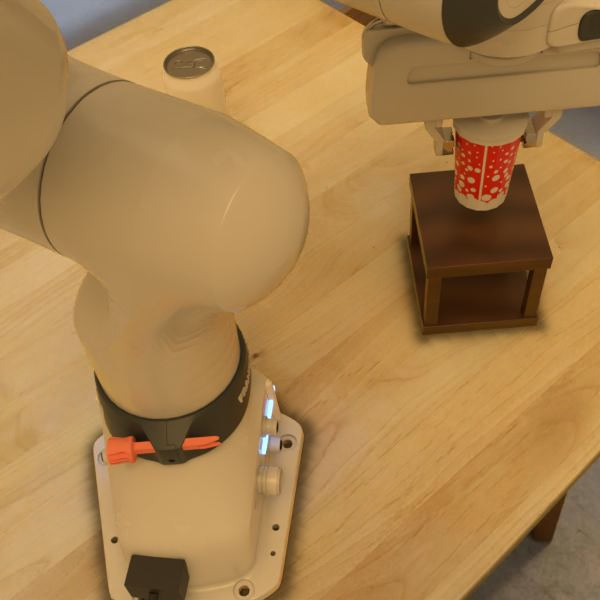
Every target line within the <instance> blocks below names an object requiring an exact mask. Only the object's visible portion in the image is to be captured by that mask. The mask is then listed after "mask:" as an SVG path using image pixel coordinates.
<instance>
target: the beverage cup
mask: <svg viewBox="0 0 600 600" xmlns="http://www.w3.org/2000/svg"><path fill="white" fill-rule="evenodd" d="M529 120H530V112H525V113H514V114H503V115H492V116H481V117H470V118H459V119H452V128H454V140H455V144H454V170H455V177H454V191H455V197H456V198H457V200H458V201H459V203H461V204H462V205H464V206H465V207H467V208H470V209H473V210H477V211H480V210H490V209H493V208H497V207H498V206H499V205H500V204H502V203H503V202H504V200H505V197H506V195H507V191H508V187H509V183H510V180H511V176H512V172H513V168H514V165H515V164H516V159H517V156H518V152H519V149H520V144H521V137H522V135H523V134H524V132H525V130H526V128H527V125H528V124H527V123H528V121H529Z"/></svg>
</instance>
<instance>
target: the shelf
mask: <svg viewBox="0 0 600 600" xmlns="http://www.w3.org/2000/svg"><path fill="white" fill-rule="evenodd" d="M454 177H455V169H450V170H449V169H448V170H447V169H446V170H437V171H426V172H414V173H409V178H408V179H409V181H408V185H409V191H410V207H409V209H410V210H409V228H408V229H409V230H408V235H406V246H407V252H408V253H407V254H408V259H409V264H410V269H411V277H412V282H413V287H414V293H415V299H416V305H417V310H418V315H419V322H420V327H421V331H422V332H421V333H422V336H425V335H437V334H449V333H462V332H473V331H474V332H475V331H486V330H496V329H499V330H500V329H509V328H510V329H511V328H522V327H533V326H534V327H535V326H537V325H538V321H539V316H538V309H539V305H540V301H541V297H542V293H543V288H544V286H545V281H546V277H547V273H548V270H550V269H551V268H552V265H553V261H554V255H553V252H552V249H551V246H550V242H549V239H548V237H547V232H546V230H545V226H544V223H543V219H542V217H541V213H540V210H539V207H538V204H537V201H536V198H535V195H534V191H533V188H532V185H531V181H530V178H529V175H528V171H527V168H526V165H525V163H517V164H516V163H515V164H514V168H513V172H512V176H511V180H510V183H509V187H508V191H507V195H506V197H505V200H504V202H503V203H502V204H500V205H499V206H498V207H497V208H493V209H490V210H480V211H477V210H473V209H470V208H467V207H465V206H464V205H462V204H461V203H459V201H458V200H457V198H456V197H455V191H454ZM526 271H527V272H528V275H527V273H526Z"/></svg>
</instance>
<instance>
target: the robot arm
mask: <svg viewBox="0 0 600 600" xmlns="http://www.w3.org/2000/svg"><path fill="white" fill-rule="evenodd" d="M334 1H335V2H337V3H340V4H343V5H345V6H348V7H350V8H352V9H355V10H358V11H360V12H362V13H365V14H367V15H370V16H373V17H375V19H373V20H371V21H369V22H368V23H367V25H365V26H364V28H363V30H362V34H361V55H362V58H363V60H364V61H365V62H366V63H367V67H366V75H365V99H366V100H365V102H366V107H367V108H366V109H367V112H368V113H367V114H368V116H369V117H370V119H372V120H373V121H374V122H375V123H376V124H377V125H379V126H389V125H400V124H401V125H402V124H413V123H423V127H424V129H425V131H426V132H427V133H428V135H429V136H430V137H431V138H432V143H433V145H432V146H433V150H434V155H435V157H442V156H452V155H455V135H453V126H443V123H444V122H443V121H446V120H453V119H459V118H470V117H481V116H492V115H503V114H514V113H525V112H529V113H534V112H535V114H534V115H533V116H532V117H531V118H529V121H528V123H527V124H528V125H527V128H526V130H525V132H524V134H523V135H522V137H521V141H520V143H521V148H522V149H530V148H532V149H533V148H541V147H542V144H543V140H544V136H545V133H547V132H548V131H549V130H550V129H551V128H552V127H553V126H554V125H556V123H557V122H558V121H559V120H560V119H562V116H563V111H564V110H569V109H581V108H590V107H591V108H592V107H600V0H334ZM310 202H311V201H310V193H309V188H308V185H307V181H306V177H305V175H304V172H303V170H302V167H301V164H300V163H299V160H298V159H297V158H296V157H295V156H294V155H293V153H291V152H289V151H287V150H286V149H284V148H283V147H281V146H280V145H278V144H277V143H275V142H274V141H272V140H270V139H269V138H267V137H266V136H264V135H263V134H261V133H259V132H258V131H256V130H254V129H252V128H251V127H249V126H247V125H246V124H244V123H243V122H240V121H239V120H238V119H235V118H234V117H232V116H230V115H229V114H228V115H227V114H224V113H221V112H218V111H215V110H212V109H209V108H206V107H204V106H201V105H198V104H195V103H192V102H189V101H186V100H183V99H180V98H177V97H174V96H171V95H168V94H166V93H165V92H163V91H160V90H156V89H154V88H151V87H147V86H144V85H141V84H139V83H136V82H133V81H131V80H129V79H125V78H122V77H120V76H117V75H114V74H112V73H110V72H108V71H105V70H102V69H99V68H98V67H95V66H92V65H90V64H88V63H86V62H83V61H81V60H80V59H76V58H74V57H73V56H71V55H69V54H68V49H67V45H66V42H65V38H64V36H63V33H62V31H61V28H60V27H59V25H58V23H57V21H56V19H55V17H54V15H52V13H51V11H50V10H49V9H48V7H46V5H45V4H44V3H43V2H42V1H41V0H0V229H1V230H3V231H4V232H7V233H10V234H12V235H15V236H16V237H19V238H21V239H24V240H25V241H28V242H30V243H33V244H35V245H37V246H40V247H42V248H44V249H46V250H48V251H51V252H53V253H56V254H57V255H60V256H62V257H64V258H66V259H68V260H70V261H73V262H74V263H76V264H78V265H79V266H80V267H82V268H83V269H85V271H87V272H86V273H85V275H84V276H83V278H82V280H81V282H80V285H79V287H78V290H77V293H76V295H75V299H74V302H73V303H74V304H73V310H72V321H73V326H74V330H75V334H76V335H77V337H78V339H79V341H80V343H81V345H82V348H83V350H84V352H85V354H86V357H87V358H88V361H89V362H90V365H91V367H92V369H93V377H94V382H95V383H94V384H95V392H96V395H95V396H94V399H95V401H96V403H97V405H98V407H99V412H100V419H101V427H102V435H100V437H98V438H97V439H96V440H95V442H94V443H93V447H92V449H93V450H92V452H93V453H92V454H93V461H94V470H95V479H96V488H97V489H96V490H97V498H98V507H99V517H100V525H101V533H102V543H103V552H104V560H105V561H104V562H105V570H106V579H107V586H108V592H109V595H110V598H111V600H142V599H144V600H266V599H267V598H269V597H270V596H271V595H273V594H274V593H275V592H277V590H278V589H279V588H280V586H281V584H282V580H283V575H284V569H285V562H286V557H287V556H286V555H287V550H288V544H289V543H288V542H289V537H290V530H291V524H292V517H293V511H294V505H295V498H296V491H297V485H298V478H299V474H300V467H301V459H302V453H303V446H304V440H305V433H304V430H303V427H302V426H301V424H300V423H299V421H296V420H295V419H293V418H291V417H290V416H288V415H286V414H284V413H282V412H281V410H280V407H279V402H278V398H277V395H276V387H275V386H276V385H274V384H273V383H274V382H273V381H272V380H271V379H269V378H268V376H267V375H265V374H263V372H261V371H260V370H258V369H257V368H256V367H255V366H254V365H253V364H251V363H252V362H251V358H250V355H251V354H250V351H249V347H248V343H247V342H246V339H245V337H244V335H243V332H242V330H241V328H240V326H239V325H238V323H237V322H236V318H235V317H236V316H235V313H240V312H243V311H245V310H247V309H249V308H251V307H254V306H256V305H257V304H259V303H261V302H262V301H263V300H265V299H266V298H268V297H269V296H270V295H271V294H272V293H274V292H275V291H276V290H277V289H278V288H279V287H281V285H282V284H284V282H285V281H286V279H287V278H289V276H290V275H291V273H292V272H293V270H294V268H295V267H296V265H297V263H298V262H299V259H300V258H301V255H302V253H303V251H304V247H305V244H306V241H307V239H308V234H309V229H310V220H311V203H310ZM287 444H289V445H291V446H290V447H285V445H287ZM275 529H277V530H275ZM245 589H247V590H248V594H247V595H241V592H242V590H245Z"/></svg>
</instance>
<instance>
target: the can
mask: <svg viewBox="0 0 600 600" xmlns="http://www.w3.org/2000/svg"><path fill="white" fill-rule="evenodd" d="M162 67H163V71H162V76H161V77H162V78H161V79H162V84H163V89H164V93H165V94H168V95H171V96H174V97H177V98H180V99H183V100H186V101H189V102H192V103H195V104H198V105H201V106H204V107H206V108H209V109H212V110H215V111H218V112H221V113H224V114H227V115H229V109H228V103H227V97H226V92H225V87H224V86H225V85H224V80H223V74H222V70H221V67H220V65H219V62H217V60H216V59H215V55H214V53H213V52H212V51H211V50H210V49H208V48H206V47H204V46H200V45H187V46H182V47H179V48H176V49H175V50H173V51H170V53H169V54H167V55H166V57H165V58H164V60H163V63H162Z"/></svg>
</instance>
